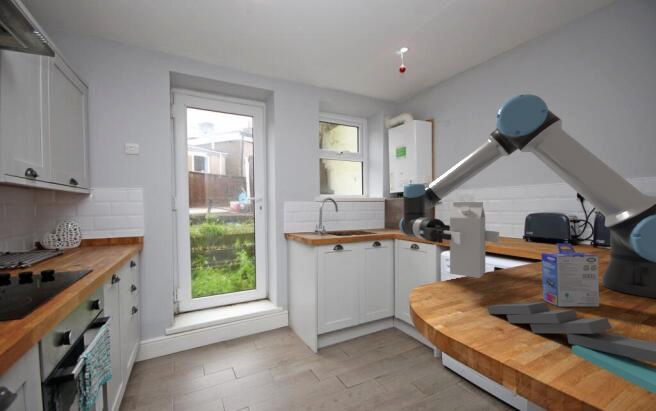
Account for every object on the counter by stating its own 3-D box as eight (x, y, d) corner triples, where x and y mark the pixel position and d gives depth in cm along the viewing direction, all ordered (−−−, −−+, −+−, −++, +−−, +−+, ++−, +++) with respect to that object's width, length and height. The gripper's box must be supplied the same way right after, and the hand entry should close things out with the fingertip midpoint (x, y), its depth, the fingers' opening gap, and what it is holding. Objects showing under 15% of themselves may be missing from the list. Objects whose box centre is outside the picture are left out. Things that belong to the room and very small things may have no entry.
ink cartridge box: (579, 299, 69) (579, 242, 69) (601, 307, 64) (600, 246, 64) (540, 299, 69) (540, 242, 69) (558, 307, 64) (558, 246, 64)
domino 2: (506, 314, 56) (555, 313, 48) (523, 311, 58) (574, 309, 49) (509, 323, 56) (559, 323, 47) (526, 319, 57) (578, 319, 49)
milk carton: (456, 268, 77) (456, 202, 77) (485, 272, 73) (485, 202, 72) (449, 274, 72) (449, 202, 71) (480, 278, 67) (480, 202, 67)
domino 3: (529, 323, 52) (587, 322, 43) (547, 319, 54) (606, 317, 45) (533, 333, 52) (592, 333, 43) (551, 328, 53) (611, 328, 44)
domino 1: (486, 306, 61) (528, 305, 52) (503, 303, 63) (546, 302, 54) (489, 313, 61) (531, 314, 52) (506, 310, 62) (549, 310, 53)
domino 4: (566, 333, 46) (656, 351, 38) (579, 328, 49) (666, 344, 40) (568, 343, 46) (658, 364, 37) (581, 337, 48) (668, 356, 40)
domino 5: (571, 346, 45) (656, 385, 35) (595, 342, 46) (683, 380, 36) (572, 355, 45) (656, 398, 35) (595, 352, 46) (683, 392, 36)
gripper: (459, 239, 92) (517, 251, 70) (397, 242, 87) (439, 255, 66) (459, 217, 92) (517, 222, 70) (397, 218, 87) (439, 224, 65)
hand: (479, 238), depth 68 cm, fingers closed on milk carton, 10 cm apart
